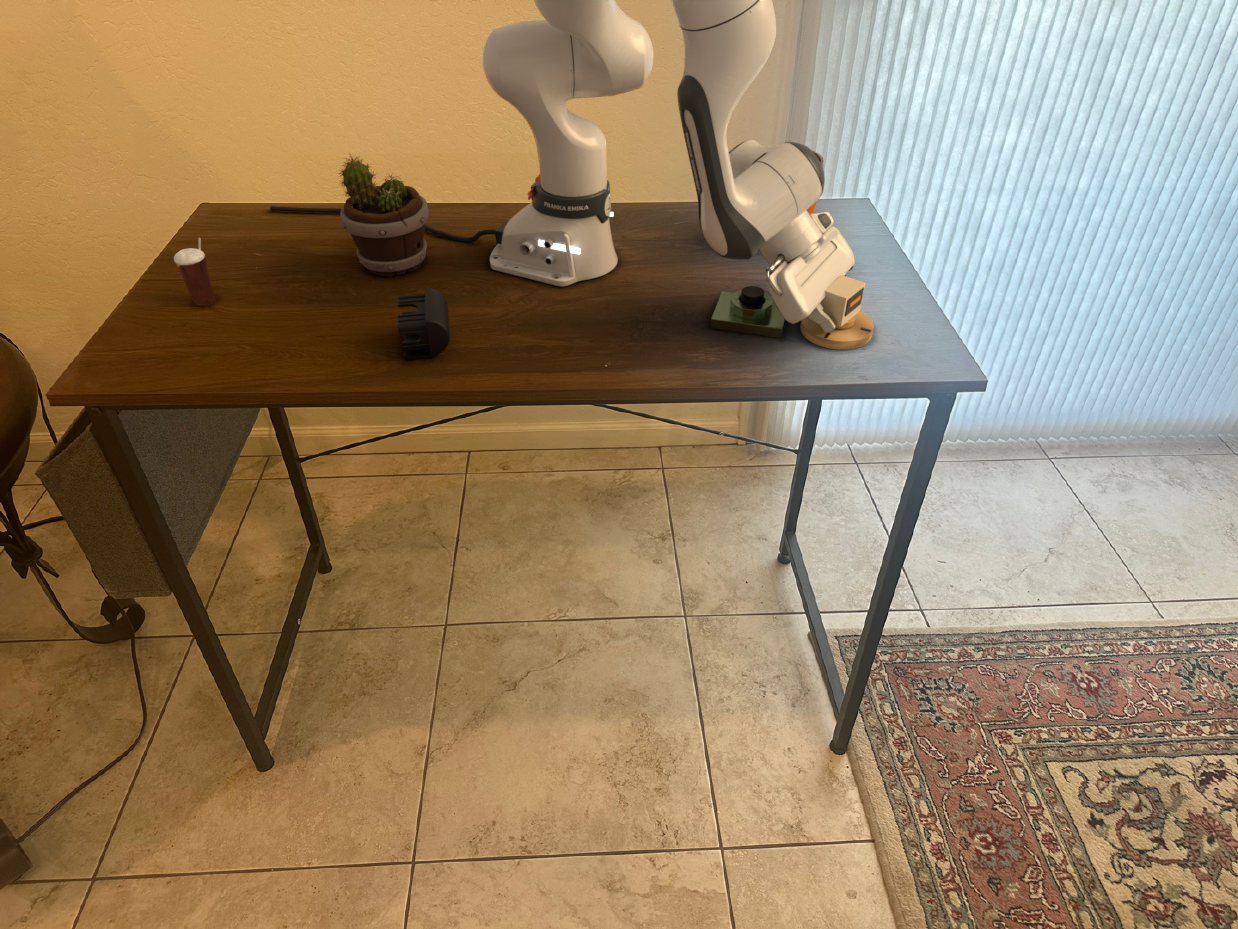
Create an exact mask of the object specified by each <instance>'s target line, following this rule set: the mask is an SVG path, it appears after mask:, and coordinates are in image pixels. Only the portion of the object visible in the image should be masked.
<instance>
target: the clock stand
mask: <svg viewBox="0 0 1238 929" xmlns="http://www.w3.org/2000/svg"><path fill="white" fill-rule="evenodd" d="M799 328H800V333H801V335H803V337H804V338H805V339H807V340H808V341H809V342H811V343H812V344H814V345H816V346H819V347H822V348H824V349H825V348H826V349H831V350H837V351H843V350H844V351H847V350H854V349H858V348H861V347H863V346H866V345H867V344H869V342H870V341H871V339H872V338H873V335H874V334H873V333H874V329H875V324H874V321H873V319H872V318H871V317H870V316H869V315H868V314H867V313H866V312H864V311H862V310H860V312H858V313H857V314H856V315H855V322H854V324H853V326H851V327H849V328H845V329H836V328H835V329H834V330H832V331H830V332H828V333H826V332H825V331H824V330H823V329H822V327H821V326H820V324H817V323H816V322H814V321H812V320H811V319H809V317H806V318H804V319H802V320H801V321H800V327H799Z"/></svg>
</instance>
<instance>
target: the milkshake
mask: <svg viewBox="0 0 1238 929" xmlns="http://www.w3.org/2000/svg"><path fill="white" fill-rule="evenodd" d="M173 261H174V263H175V266H176V267H177V269H178V272H179V273H180V275H181V278H182V280H183V282H184V284H185V287H186V288H187V291H188V293H189V295H190V297H191V300H192V301H193V304H195V305H196V306H197V307H208V306H211V305H213V304H214V303H216V295H215V294H216V293H215V290H214V286H213V282H212V279H211V276H210V272H209V268H208V264H207V260H206V255H205V252H204V251H203V250H202V238H201V237H198V248H193V247H190V248H183V249H181V250H179V251H178V252H176V253H175V254H174V255H173Z"/></svg>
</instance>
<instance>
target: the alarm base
mask: <svg viewBox="0 0 1238 929" xmlns="http://www.w3.org/2000/svg"><path fill="white" fill-rule="evenodd" d="M741 290H742V289H739V290H737V291H735V292H730V291H724V290H722V291H721V293H720V294H719V295H720V296H719V298H718V300H717V303H716V306H715V307H714V308H715V309H714V311H713V313H712V315H711V319H710V329H715V330H721V331H728V332H736V333H743V334H750V335H757V336H765V337H769V338H770V337H771V338H778V339H781V338H782V336H783V331H784V327H785V323H786V320H785V318H784V317H783V315H782V314H781V312H780V310H779V309H778V307H777V305H776V303H775V302H774V300H773V298H772V296H771V294H770V293H768V292H766V291H764V292H765V293H764V302H763V304H762V305H759V306H748V305H745V304H742V303H741V301H740V299H741Z"/></svg>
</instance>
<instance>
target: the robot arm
mask: <svg viewBox="0 0 1238 929" xmlns="http://www.w3.org/2000/svg"><path fill="white" fill-rule="evenodd" d="M533 2H534V4H535V6H536V8H537V10H538V11H539V13H540V14H541V15H542V17H543V18H544V19H540V20H536V19H535V20H522V21H518V22H515V23H511V24H510V23H509V24H507V25H504V26H501V27H497V28H494V29H493V30H492V31H491V32H490V34H489V35H488V37H487V39H486V41H485V43H484V47H483V52H482V66H483V72H484V76H485V79H486V81H487V83H488V85H489V87H490V88H491V89H492V90H493V92H494V93H495V94H496V95H497V96H498V97H500V98H501V99H503V100H504V101H506V102H507V103H508V104H510V105H511V106H512V107H514V109H516V111H518V112H519V114H520V115H521V116H522V117H523V119H524V120H525V121H526V123H527V125H528V126H529V128H530V130H531V133H532V135H533V139H534V142H535V146H536V152H537V159H538V166H539V167H538V168H539V174H538V175H537V176H536V177H535V180H534V183H532V184H531V186H530V189H529V190H528V192H527V200H528V201H530V200H531V202H530V203H528V204H527V205H526V206H524V207H523V208H521V209H520V210H519V211H517V212H516V213H515V214H514V215H512V216H511V218H510V219H509V220H508V221H505V222H503V223H502V224H501V225H500V226H498V228H495V229H493V228H492V229H491V228H490V229H483V230H480V231H477V232H476V233H475V234H474V235H473V236H469V237H468V236H465V237H464V236H460V235H455V234H452V233H449V232H446V231H443V230H440V229H437V228H433V227H431V226H429V225H426V224H425V229H424V231H427V232H428V233H431V234H435V235H438V236H440V237H443V238H446V239H450V240H453V241H456V242H461V243H462V242H463V243H471V242H475V241H478V240H479V238H481V237H482V236H485V235H495V244H496V245H495V247H493V250H492V251H491V253H490V255H489V267H490V269H491V270H494V271H496V272H502V273H504V274H509V275H512V276H516V277H517V276H518V277H521V278H525V279H529V280H533V281H536V282H540V283H544V284H548V285H552V286H556V287H568V286H570V285H573V284H575V283H577V282H583V281H587V280H592V279H596V278H599V277H602V276H604V275H605V276H606V274H608V273H610V272H611V271H613V270H614V269H616V267H617V265H618V261H619V258H618V255H617V252H616V249H615V245H614V240H613V236H612V230H611V224H610V218H611V217H612V218H613V217H614V211H611V210H612V194H611V185H610V181H609V180H608V146H607V143H608V142H607V139H606V135H605V134H604V132H603V130H601V128H600V127H599V126H598V125H596V124H595V123H594V122H592V121H590V120H589V119H587V118H584V117H581V116H580V115H577V114H575V113H573V112H572V111H570V110H569V109H568V108H567V102H568V101H570V100H573V99H574V100H575V99H590V98H592V99H593V98H604V97H605V98H606V97H607V98H608V97H615V96H618V95H619V96H620V95H623V94H626V93H630V92H634V91H637V90H640V89H642V88H643V86H644V85H645V84H646V82H648V79H649V78H650V75H651V73H652V70H653V66H654V58H655V56H654V55H655V53H654V46H653V43H652V39H651V37H650V34H649V33H648V31H647V29H646V28H645V27H644V26H643V24H642V23H640V21H638V20H636V19H634V18H632V17H631V16H629V15H628V14H627V13H625V12H624V11H623V10H622V9H621V7H620V6H619V5H618V3H617V1H616V0H533ZM670 2H671V5H672V6H671V7H672V8H673V11H674V15H675V17H676V21H677V23H678V25H679V29H680V32H681V36H682V42H683V55H684V57H683V58H684V62H683V72H682V78H681V80H680V82H679V85H678V87H677V93H676V97H677V106H678V112H679V118H680V122H681V128H682V132H683V133H682V134H683V138H684V143H685V146H686V151H687V155H688V160H689V164H690V169H691V173H692V177H693V183H694V187H695V192H696V196H697V203H698V204H697V208H698V222H699V228H700V231H701V233H702V236H703V238H704V239H705V241H706V243H707V244H708V246H709V247H710V249H711V250H712V251H713V252H714V253H715V254H716V255H717V256H719V257H720V258H724V259H729V260H750V259H752V257H753V256H754V255H756V254H757V253H758V252H759V251H760V253H761V255H762V256H763V258H764V259H765V261H766V262H767V263H768V265H767V267H766V268H765V277H766V278H765V281H766V284H767V288H768V292H769V294H770V296H771V297H772V298H773V300H774V302H775V303H776V305H777V307H778V309H779V310H780V312H781V314H782V315H783V317H784V318H785V322H788V323H790V324H792V325H795V324H797V323H799V322H801V320H802V319H804V318H806V317H809V319H811V320H812V321H814V322H816V323H817V324H820V326H821V327H822V329H823V330H824V331H825V332H826V333H828V332H830V331H832V330H834V329H835V327H836V326H837V321H835V318H834V317H833V316H830V317H829V316H828V315H827V314H826V313H824V312H823V311H822V310H823V307H822V306H821V304H820V302H821V301H822V300H823V299H824V298H825V297H826V293H825V291H824V290H825V289H826V288H827V287H828V286H829V285H830V284H831V283H832V282H834V281H835V280H836V279H838V278H839V277H840V276H842V275H843V276H846V274H847V273H848V272H850V271H851V270H850V268H851V267H852V266H853V265H855V264H856V261H855V260H856V258H855V254H854V253H853V252H854V251H853V250H852V248H851V247H850V245H849V244H848V242H847V240H846V239H845V237H844V236H843V234H842V232H840V230H839V229H838V228H837V227H836V226H834V223H835V222H834V218H833V216H832V215H831V214H830V212H828V211H822V212H817V213H815V212H814V213H813V214H810V215H809V213H808V212H807V209H808V208H809V207H811V206H812V205H813V204H814V203H815V202H816V201H818V200H819V198H820V197H822V195H823V193H824V190H825V179H826V178H825V177H826V176H825V169H824V166H823V167H822V165H821V163H820V161H819V160H818V158H817V157H816V155H815V154H814V153H813V152H812V151H813V150H812V149H811V148H809V147H808V146H807V145H805V144H801V143H798V142H795V141H784V142H783V143H781V144H777V145H769V146H767V145H761V144H760V143H759V142H758V141H756V140H754V139H746V140H744V141H742V142H740V143H738V144H737V145H736V146H734V147H733V148H732V149H731V150H729V147H728V142H727V132H728V126H729V123H730V121H731V118H732V116H733V113H734V112H735V110H736V107H737V106H738V104H739V102H740V101H741V99H742V97H743V96H744V94H745V93H746V92H747V90H748V89H749V87H750V86H751V85H752V83H753V82H754V80H755V79H756V78H757V76H758V75H759V74H760V73H761V71H762V70H763V68H764V66H765V65H766V63H767V61H768V59H769V57H770V55H771V53H772V50H773V47H774V45H775V41H776V36H777V18H776V11H775V6H774V3H773V0H670ZM811 150H812V151H811ZM816 203H817V202H816ZM341 209H342V208H341V207H340V208H339V207H338V208H336V207H335V208H333V207H296V206H294V207H293V206H276V205H275V206H273V205H270V206H269V211H271V212H272V211H273V212H292V213H316V214H317V213H319V214H320V213H321V214H324V213H325V214H327V213H328V214H340V213H341ZM853 267H854V266H853ZM849 270H850V271H849Z"/></svg>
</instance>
